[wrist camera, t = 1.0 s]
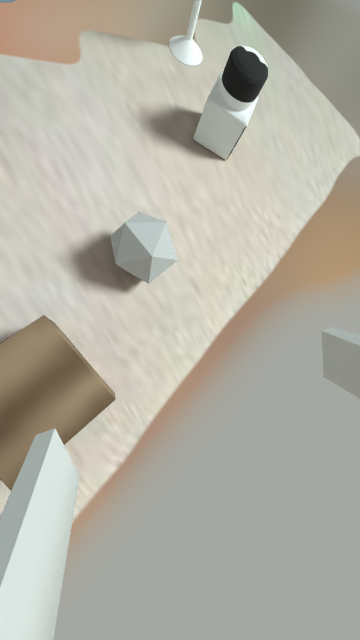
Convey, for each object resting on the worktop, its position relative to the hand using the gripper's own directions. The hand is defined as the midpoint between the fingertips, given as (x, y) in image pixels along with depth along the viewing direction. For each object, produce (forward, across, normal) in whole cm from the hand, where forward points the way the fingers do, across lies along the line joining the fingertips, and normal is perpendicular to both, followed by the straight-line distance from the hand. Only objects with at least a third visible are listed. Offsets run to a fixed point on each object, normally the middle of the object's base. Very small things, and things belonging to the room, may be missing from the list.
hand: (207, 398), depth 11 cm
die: (+28, +1, +5) cm, 29 cm away
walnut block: (+20, -16, -6) cm, 26 cm away
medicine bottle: (+39, +22, +22) cm, 50 cm away
